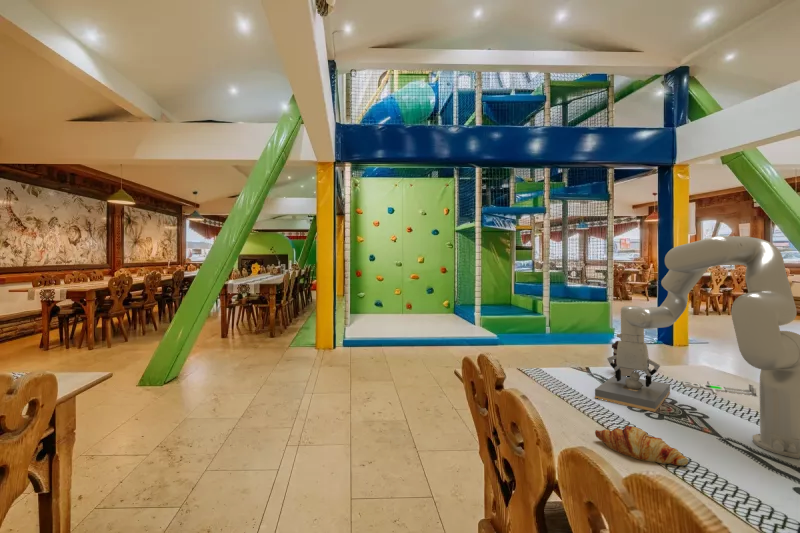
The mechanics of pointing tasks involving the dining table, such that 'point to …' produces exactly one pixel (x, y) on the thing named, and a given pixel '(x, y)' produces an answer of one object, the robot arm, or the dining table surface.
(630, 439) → the croissant
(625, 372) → the coffee cup
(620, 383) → the block
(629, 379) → the rubber duck
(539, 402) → the dining table surface
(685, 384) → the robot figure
